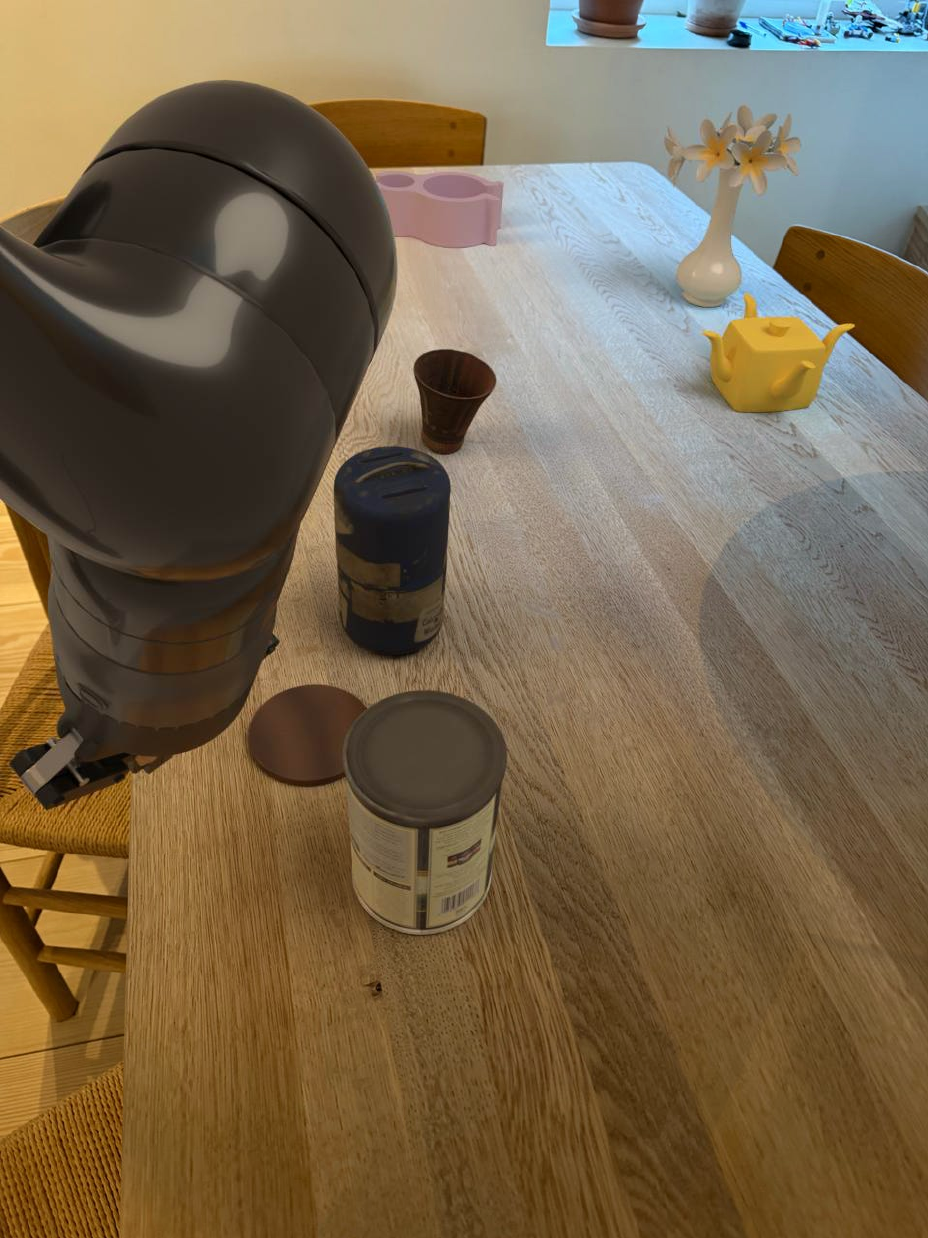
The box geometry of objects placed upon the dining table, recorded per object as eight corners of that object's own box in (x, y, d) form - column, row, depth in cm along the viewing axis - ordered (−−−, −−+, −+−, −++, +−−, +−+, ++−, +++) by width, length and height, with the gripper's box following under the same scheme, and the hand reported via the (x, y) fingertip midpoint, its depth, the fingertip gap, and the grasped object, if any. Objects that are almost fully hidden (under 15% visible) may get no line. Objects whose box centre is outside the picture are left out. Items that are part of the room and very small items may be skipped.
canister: (335, 594, 90) (326, 432, 78) (435, 586, 92) (441, 425, 79) (345, 668, 83) (336, 503, 71) (452, 658, 85) (461, 494, 72)
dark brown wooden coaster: (281, 806, 73) (280, 800, 72) (229, 718, 79) (228, 712, 78) (395, 754, 77) (395, 747, 76) (338, 674, 83) (338, 668, 82)
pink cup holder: (366, 238, 148) (365, 193, 144) (381, 208, 157) (381, 164, 153) (494, 251, 147) (497, 206, 143) (502, 220, 156) (505, 176, 151)
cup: (482, 475, 105) (489, 395, 98) (403, 462, 106) (404, 382, 99) (496, 432, 111) (503, 353, 104) (422, 420, 112) (423, 342, 105)
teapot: (684, 396, 119) (701, 324, 112) (726, 352, 128) (744, 283, 121) (797, 436, 114) (822, 363, 107) (832, 387, 123) (858, 317, 116)
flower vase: (625, 282, 142) (657, 97, 125) (740, 276, 145) (787, 96, 128) (656, 323, 133) (694, 131, 115) (777, 317, 136) (833, 128, 119)
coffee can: (400, 790, 74) (401, 666, 65) (516, 851, 71) (536, 731, 61) (320, 891, 68) (308, 770, 58) (444, 964, 64) (453, 849, 55)
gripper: (242, 465, 38) (204, 628, 53) (-75, 649, 32) (-16, 776, 47) (364, 605, 38) (291, 730, 53) (66, 823, 31) (80, 895, 46)
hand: (146, 752), depth 50 cm, fingers closed
